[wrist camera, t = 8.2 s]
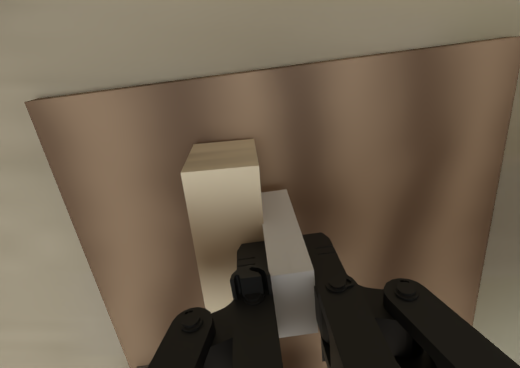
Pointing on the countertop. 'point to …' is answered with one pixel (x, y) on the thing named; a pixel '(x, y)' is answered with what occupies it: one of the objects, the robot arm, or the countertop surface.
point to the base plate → (291, 173)
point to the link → (222, 211)
